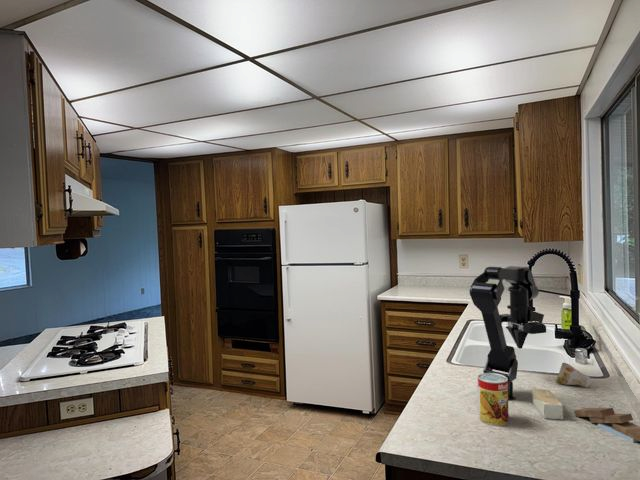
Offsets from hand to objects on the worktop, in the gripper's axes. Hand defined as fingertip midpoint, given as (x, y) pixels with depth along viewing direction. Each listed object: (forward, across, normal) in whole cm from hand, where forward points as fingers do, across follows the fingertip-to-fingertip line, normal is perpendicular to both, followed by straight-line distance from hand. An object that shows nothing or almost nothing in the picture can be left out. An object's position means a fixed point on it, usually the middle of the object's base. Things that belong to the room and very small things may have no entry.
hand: (519, 348), depth 149 cm
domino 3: (+12, -33, +1) cm, 35 cm away
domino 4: (+10, -37, 0) cm, 38 cm away
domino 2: (+11, -31, +1) cm, 33 cm away
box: (+10, -16, +6) cm, 20 cm away
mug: (+12, -7, -15) cm, 21 cm away
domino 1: (+11, -26, +1) cm, 29 cm away
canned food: (+12, -21, +26) cm, 36 cm away
